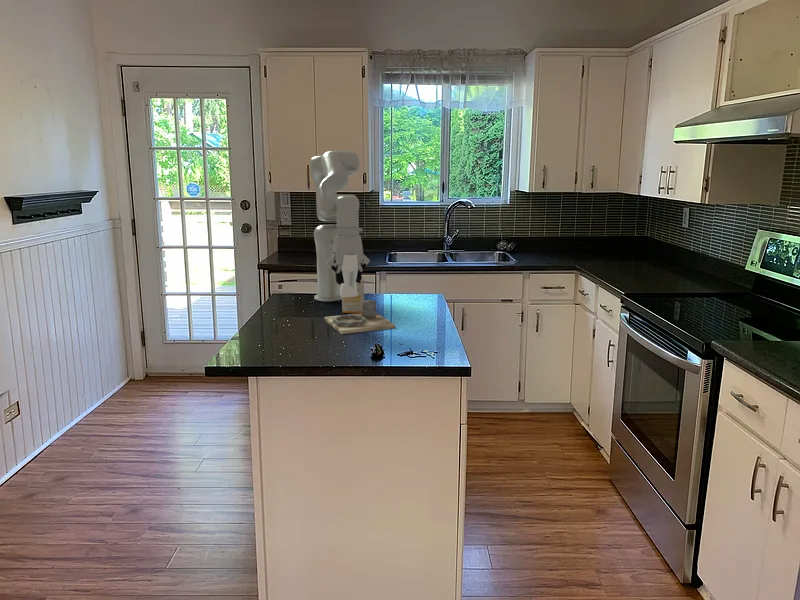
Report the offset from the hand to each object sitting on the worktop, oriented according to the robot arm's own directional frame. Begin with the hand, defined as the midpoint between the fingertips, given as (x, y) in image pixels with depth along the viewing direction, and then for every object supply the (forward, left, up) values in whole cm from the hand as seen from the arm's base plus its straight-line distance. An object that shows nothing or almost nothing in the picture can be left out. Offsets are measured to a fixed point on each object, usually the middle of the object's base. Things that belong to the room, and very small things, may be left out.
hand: (348, 282), depth 207 cm
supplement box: (-19, +8, -16) cm, 26 cm away
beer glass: (0, 0, -5) cm, 5 cm away
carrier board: (-1, +4, -16) cm, 16 cm away
